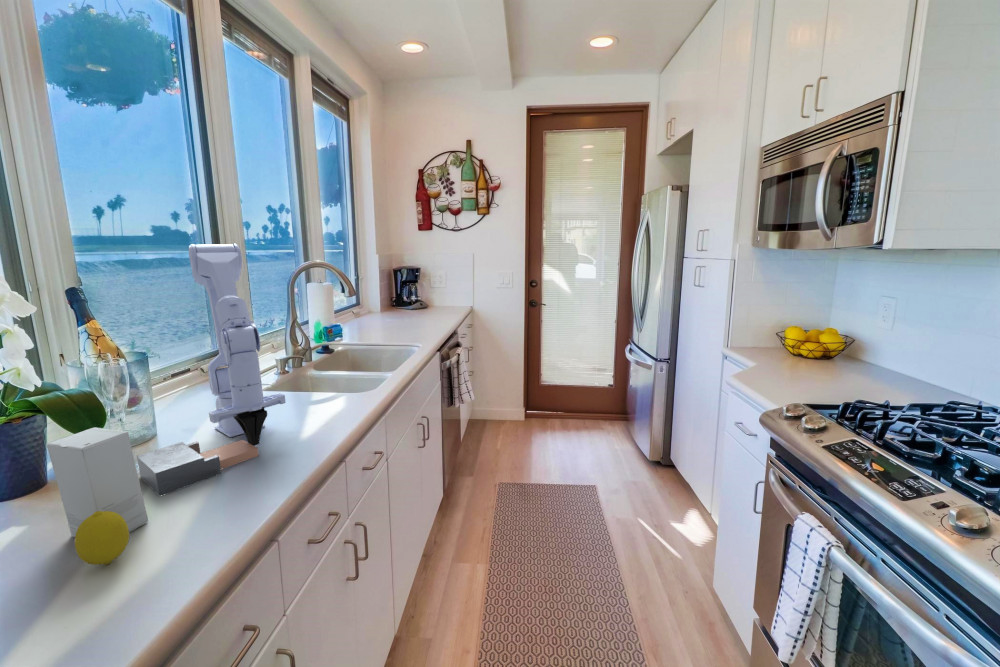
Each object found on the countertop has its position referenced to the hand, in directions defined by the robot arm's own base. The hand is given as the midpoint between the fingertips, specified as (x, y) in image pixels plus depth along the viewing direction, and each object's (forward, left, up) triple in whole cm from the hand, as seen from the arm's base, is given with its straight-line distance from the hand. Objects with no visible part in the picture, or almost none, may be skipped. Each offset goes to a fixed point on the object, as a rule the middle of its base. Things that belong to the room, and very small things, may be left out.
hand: (254, 443), depth 97 cm
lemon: (+21, -29, -2) cm, 36 cm away
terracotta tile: (0, -7, -2) cm, 7 cm away
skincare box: (+11, -27, -2) cm, 29 cm away
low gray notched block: (0, -13, -1) cm, 13 cm away
